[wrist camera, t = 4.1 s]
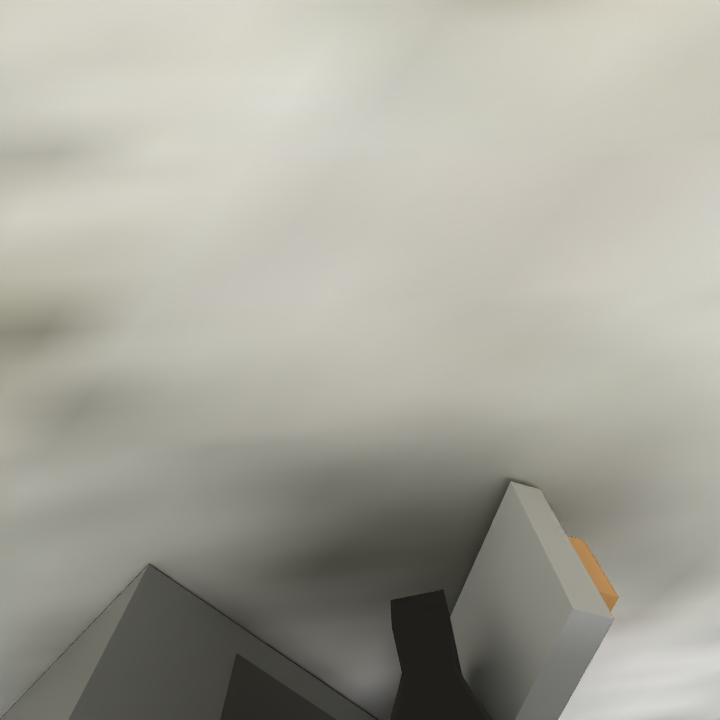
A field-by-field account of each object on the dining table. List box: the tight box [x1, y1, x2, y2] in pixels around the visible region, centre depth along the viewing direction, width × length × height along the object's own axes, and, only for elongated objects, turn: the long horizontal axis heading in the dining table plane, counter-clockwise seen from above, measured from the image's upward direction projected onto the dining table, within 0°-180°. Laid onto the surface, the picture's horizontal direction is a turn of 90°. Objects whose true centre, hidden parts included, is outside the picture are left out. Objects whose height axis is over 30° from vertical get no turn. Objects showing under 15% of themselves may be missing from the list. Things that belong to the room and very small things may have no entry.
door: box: [450, 482, 618, 720], centre depth 12 cm, size 2×8×4 cm, turn 163°
